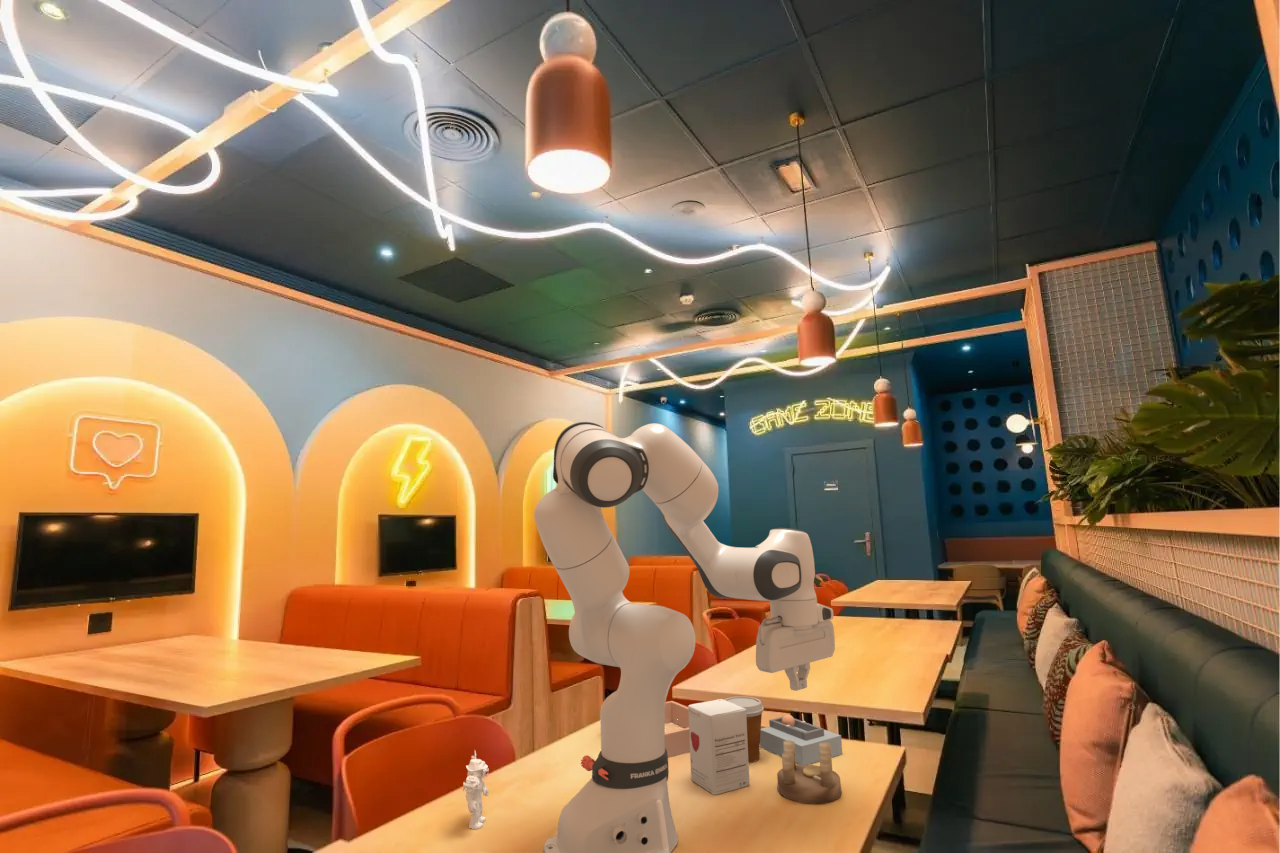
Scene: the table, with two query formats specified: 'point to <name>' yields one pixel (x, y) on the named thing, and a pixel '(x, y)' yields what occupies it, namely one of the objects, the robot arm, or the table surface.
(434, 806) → the table surface
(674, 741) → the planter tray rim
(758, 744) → the disposable coffee cup
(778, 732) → the stand
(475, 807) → the flower shoulder figurine
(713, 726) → the supplement box
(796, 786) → the dial
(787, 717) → the indicator ball
